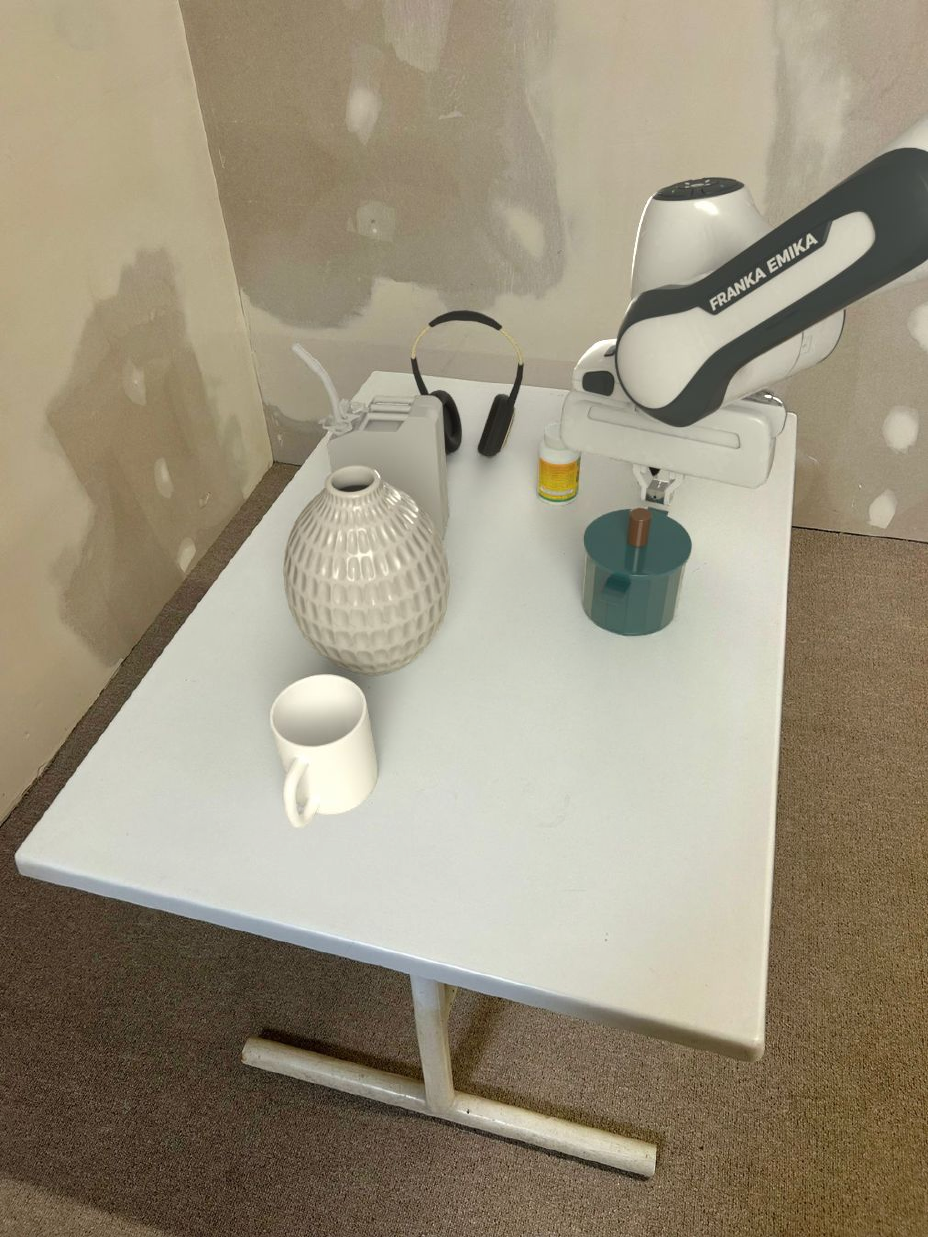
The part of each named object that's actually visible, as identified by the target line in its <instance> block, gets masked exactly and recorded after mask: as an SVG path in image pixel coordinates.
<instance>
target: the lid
mask: <svg viewBox="0 0 928 1237" xmlns="http://www.w3.org/2000/svg"><path fill="white" fill-rule="evenodd" d="M582 547H583V550H584V553H585V554H586V555H587V556H588V558H589V559H590V560H591V561H592V562H593V563H594V564H595V565H596V566H597V567H599V568H600V569H602V570H604V571H605V572H608V573H610V574H612V575H615V576H618V577H622V578H626V579H633V580H651V579H657V578H662V577H665V576H668V575H671V574H673V573H675V572H676V571H678V570H680V569H681V568H682V567H683V566H684V565H685V564H687V563H688V561H689V560H690V558H691V554H692V550H693V549H692V548H693V543H692V539H691V535H690V534H689V532H688V531H687V530H686V528H685V527H684V526H683V525H682V524H681V523H679V522H678V521H677V520H675V519H674V518H672V517H670V516H669V515H668V516H666V515H663V514H661V513H658V512H654V511H650V510H648V509H647V508H644V507H635V508H623V509H616V510H612V511H609V512H606V513H604V514H601V515H599V516H598V517H596V518H595V519H593V520H592V521H591V522H590V523H589V524H588V526H586V529H585V531H584V534H583V538H582Z"/></svg>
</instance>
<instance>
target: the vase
mask: <svg viewBox="0 0 928 1237" xmlns="http://www.w3.org/2000/svg"><path fill="white" fill-rule="evenodd" d="M282 574H283V586H284V593H285V597H286V602H287V605H288V608H289V611H290V613H291V616H292V618H293V620H294V622H295V624H296V627H297V629H298V630H299V631H300V634H302V636H303V637H304V638H305V640H306V641H307V642H308V644H310V646H311V647H312V648H313V649H314V651H316V652H317V653H318V654H319V655H321V656H322V657H324V658H325V659H327V660H328V661H329V662H331V663H333V664H334V665H336V666H338V667H340V668H342V669H344V670H346V671H349V672H351V673H354V674H359V675H367V676H378V675H380V676H381V675H386V674H389V673H392V672H396V671H398V670H400V669H402V668H405V667H406V666H408V665H409V664H410V663H412V662H413V661H414V660H415V659H416V658H417V657H419V656H420V655H421V654H423V652H424V651H425V650H426V648H428V646H429V645H430V644H431V642H432V641H433V639H434V638H435V636H436V635H437V633H438V631H439V630H440V629H441V628H440V627H441V625H442V623H443V619H444V618H445V614H446V611H447V609H448V602H449V596H450V588H451V581H450V567H449V561H448V555H447V551H446V547H445V545H444V542H443V540H442V539H441V537H440V535H439V532H438V530H437V528H436V527H435V525H434V524H433V522H432V521H431V519H430V517H429V516H428V514H427V513H426V512H425V511H424V510H423V508H422V507H421V506H420V505H419V504H418V503H417V502H416V501H415V500H413V499H412V498H411V497H410V496H408V495H407V494H406V493H404V492H403V491H401V490H399V489H397V488H396V487H394V486H392V485H390V484H388V483H386V482H384V481H382V480H381V477H380V475H379V473H378V472H377V471H376V470H374V469H372V468H370V467H367V466H363V465H350V466H345V467H342V468H339V469H337V470H335V471H334V472H332V471H331V473H330V474H329V475H328V476H327V477H326V479H325V484H324V488H323V489H322V490H321V491H319V492H318V494H316V495H314V497H313V498H312V499H311V500H310V501H309V502H308V503H307V504H306V506H305V507H303V509H302V511H301V512H300V513H299V515H298V517H297V518H296V519H295V522H294V524H293V526H292V528H291V530H290V533H289V536H288V539H287V542H286V545H285V550H284V558H283V567H282Z"/></svg>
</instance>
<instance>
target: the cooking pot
mask: <svg viewBox="0 0 928 1237" xmlns="http://www.w3.org/2000/svg"><path fill="white" fill-rule="evenodd" d="M646 509H648V510H650V511H654V512H658V513H661V514H663V515H666V516H668V517H669V511H668V510H664V509H661V508H657V507H652V506H647V507H646ZM584 556H585V557H584V569H583V581H582V594H581V595H582V602H581V603H582V607H583V610H584V612H585V615H586V616H587V617H588V618H589V620H590V621H591V622H592V623H593V624H595V625H596V626H597V627H599V628H601V629H602V630H604V631H607V632H609V633H611V634H614V635H619V636H626V637H642V636H648V635H652V634H655V633H658V632H660V631H662V630H663V629H665V628H667V627H668V626H669V625H670V624H671V623H672V621H674V618H675V617H676V613H677V611H678V608H679V604H680V598H681V593H682V586H683V582H684V581H683V580H684V577H685V576H684V575H685V570H686V564H687V563H686V564H685V565H684V566H683V567H682V568H681V569H680V570H678V571H676V572H675V573H673V574H671V575H668V576H665V577H662V578H657V579H651V580H633V579H626V578H622V577H618V576H615V575H612V574H610V573H608V572H605V571H604V570H602V569H600V568H599V567H597V566H596V565H595V564H594V563H593V562H592V561H591V560H590V559H589V558H588V556H587V555H586V553H585V555H584Z"/></svg>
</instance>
